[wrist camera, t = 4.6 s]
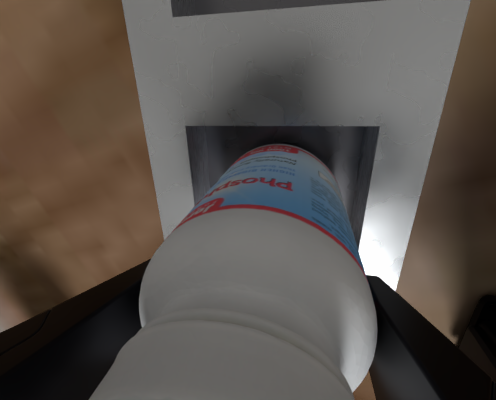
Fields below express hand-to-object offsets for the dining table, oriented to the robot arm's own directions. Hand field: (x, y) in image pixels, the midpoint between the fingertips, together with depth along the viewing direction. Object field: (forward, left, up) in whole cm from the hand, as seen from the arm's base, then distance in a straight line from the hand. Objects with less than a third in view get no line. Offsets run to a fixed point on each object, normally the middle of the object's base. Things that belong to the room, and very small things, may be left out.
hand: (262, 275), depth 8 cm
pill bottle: (0, 0, -6) cm, 6 cm away
